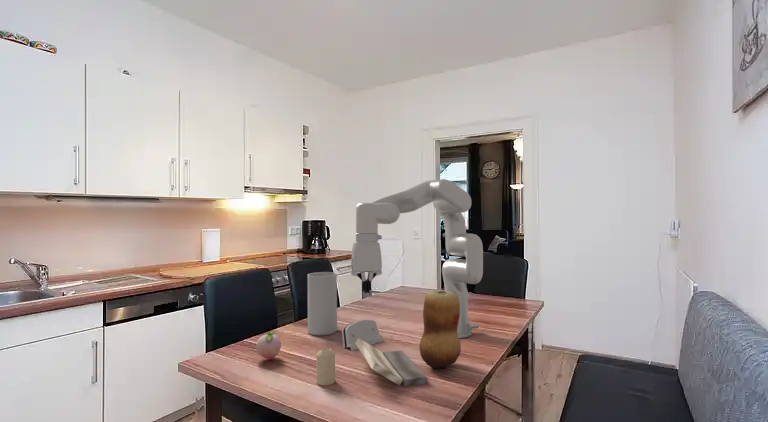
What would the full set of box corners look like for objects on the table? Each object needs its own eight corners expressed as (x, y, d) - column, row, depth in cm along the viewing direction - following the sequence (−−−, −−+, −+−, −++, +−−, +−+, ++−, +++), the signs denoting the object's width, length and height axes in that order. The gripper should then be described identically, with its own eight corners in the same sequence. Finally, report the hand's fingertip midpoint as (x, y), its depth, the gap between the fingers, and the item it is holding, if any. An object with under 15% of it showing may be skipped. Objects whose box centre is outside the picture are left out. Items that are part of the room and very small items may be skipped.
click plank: (378, 357, 137) (381, 352, 137) (399, 385, 114) (403, 379, 114) (355, 342, 135) (358, 337, 135) (371, 369, 112) (375, 362, 112)
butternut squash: (451, 378, 120) (450, 296, 120) (412, 369, 127) (412, 292, 127) (467, 363, 131) (466, 289, 132) (431, 356, 139) (430, 285, 139)
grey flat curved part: (351, 350, 145) (345, 323, 147) (343, 352, 148) (338, 325, 151) (383, 340, 156) (377, 315, 159) (376, 342, 160) (370, 317, 162)
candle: (317, 378, 120) (317, 346, 121) (335, 377, 121) (335, 345, 121) (315, 386, 115) (315, 352, 115) (334, 385, 115) (334, 351, 116)
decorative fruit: (255, 357, 139) (255, 329, 140) (279, 354, 142) (279, 326, 142) (257, 366, 131) (256, 336, 131) (282, 363, 134) (282, 333, 134)
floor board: (401, 356, 139) (401, 350, 139) (427, 383, 116) (427, 376, 116) (383, 358, 137) (383, 352, 137) (404, 386, 114) (404, 379, 114)
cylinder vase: (302, 334, 166) (301, 275, 166) (317, 326, 178) (317, 271, 178) (327, 337, 161) (327, 277, 162) (342, 329, 173) (341, 272, 173)
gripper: (385, 238, 139) (384, 289, 139) (343, 238, 136) (343, 291, 135) (390, 239, 132) (390, 293, 132) (346, 239, 129) (346, 295, 128)
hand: (366, 292), depth 134 cm, fingers closed
